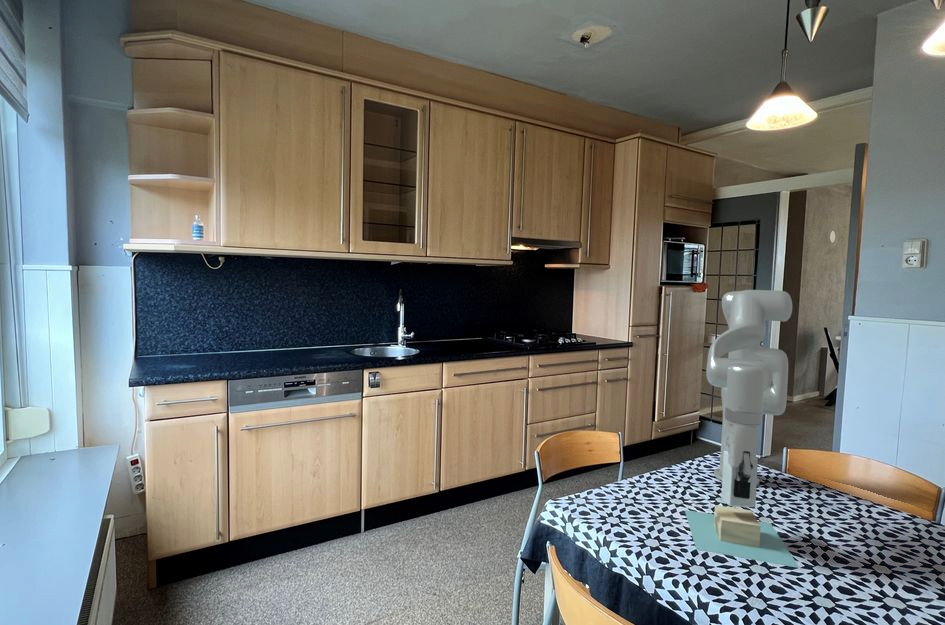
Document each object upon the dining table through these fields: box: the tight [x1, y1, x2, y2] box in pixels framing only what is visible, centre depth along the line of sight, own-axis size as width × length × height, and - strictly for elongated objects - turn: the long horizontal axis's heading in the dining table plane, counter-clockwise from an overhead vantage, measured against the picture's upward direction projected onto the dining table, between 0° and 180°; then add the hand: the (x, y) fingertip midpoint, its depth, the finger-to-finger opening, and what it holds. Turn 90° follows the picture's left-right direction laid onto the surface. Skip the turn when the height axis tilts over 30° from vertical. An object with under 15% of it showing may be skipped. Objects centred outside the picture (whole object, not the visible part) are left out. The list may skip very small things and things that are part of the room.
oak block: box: [714, 504, 761, 547], centre depth 112 cm, size 8×8×5 cm
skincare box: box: [721, 451, 759, 508], centre depth 111 cm, size 6×4×12 cm
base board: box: [684, 509, 800, 569], centre depth 112 cm, size 20×20×1 cm
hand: (738, 491), depth 111 cm, fingers closed on skincare box, 5 cm apart
